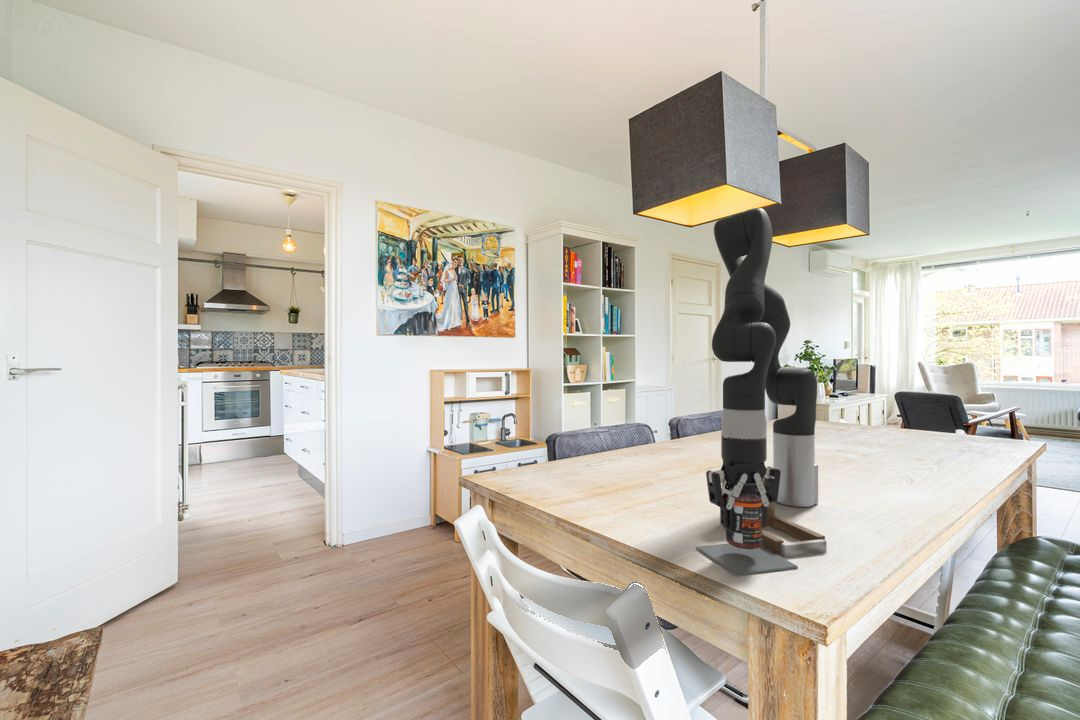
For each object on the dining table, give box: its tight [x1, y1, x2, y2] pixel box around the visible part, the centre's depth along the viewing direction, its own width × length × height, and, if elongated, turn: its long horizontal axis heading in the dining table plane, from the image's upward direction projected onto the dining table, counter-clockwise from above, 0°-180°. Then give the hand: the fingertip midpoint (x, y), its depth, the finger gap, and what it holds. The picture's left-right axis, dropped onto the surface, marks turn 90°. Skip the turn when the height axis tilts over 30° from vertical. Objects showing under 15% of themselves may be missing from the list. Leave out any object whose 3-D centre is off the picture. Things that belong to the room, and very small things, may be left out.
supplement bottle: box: [725, 483, 763, 549], centre depth 88 cm, size 6×6×11 cm
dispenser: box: [721, 477, 827, 558], centre depth 99 cm, size 11×18×10 cm, turn 14°
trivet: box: [695, 542, 799, 577], centre depth 88 cm, size 12×12×1 cm
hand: (743, 527), depth 88 cm, fingers closed on supplement bottle, 6 cm apart
